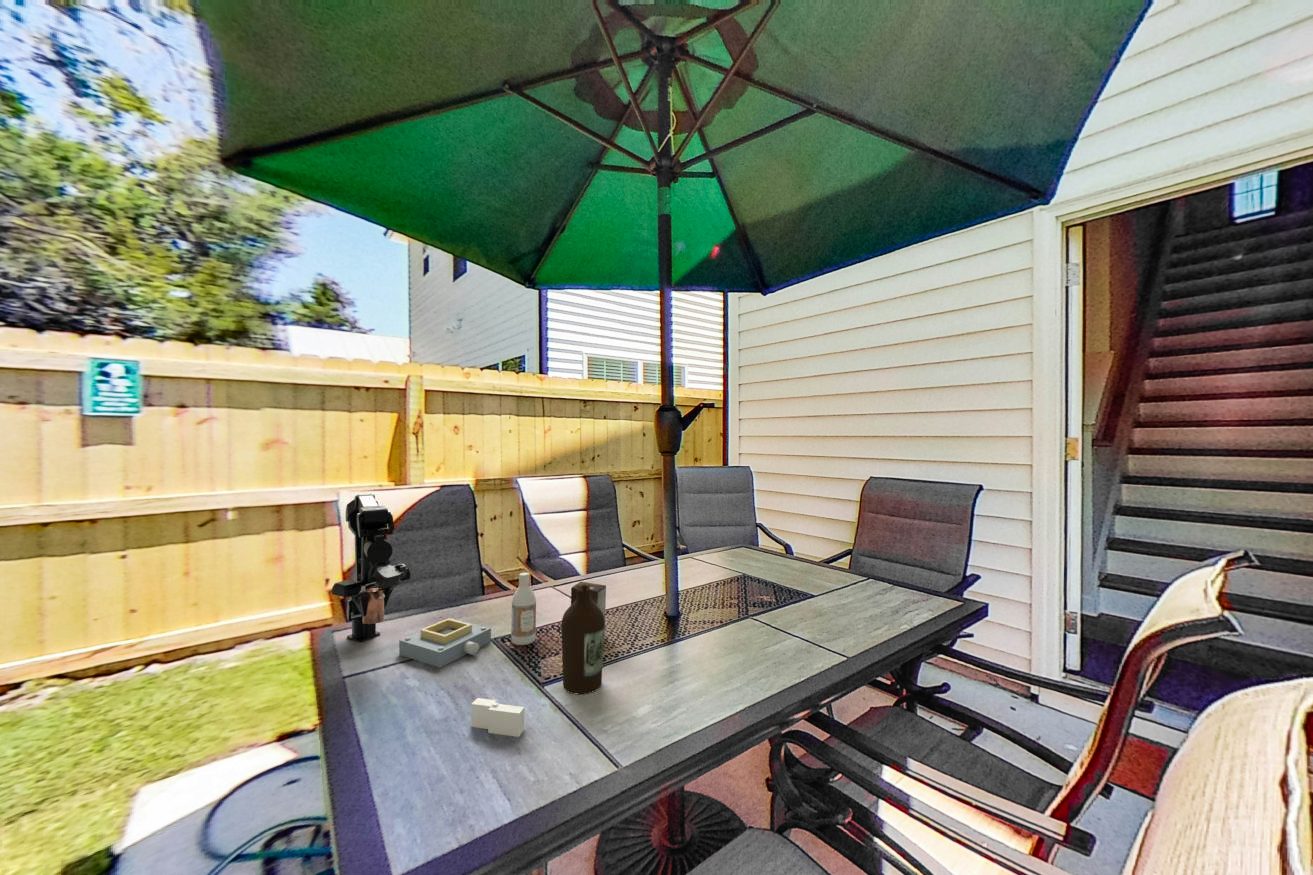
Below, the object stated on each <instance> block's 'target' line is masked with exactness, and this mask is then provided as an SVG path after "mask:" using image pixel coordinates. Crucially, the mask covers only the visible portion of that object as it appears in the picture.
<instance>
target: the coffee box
mask: <svg viewBox="0 0 1313 875" xmlns="http://www.w3.org/2000/svg"><path fill="white" fill-rule="evenodd" d="M581 582H582V581H580V582H578V583H581ZM578 583H576V584H575V585H573V586H571V589H570V606H571V605H572V604H573V603H574V602H575V600H576V599H577V584H578ZM589 583H590V589H591V590H590V599H591V600H592V601H593V602H594V603H595V604H596V605H597V606H598V607H599V608H600V610H601V611H602V613H603V616H604V620H605V621H606V610H607V609H606V605H607V604H606V601H607V600H606V599H607V585H605V584H599V583H592V582H589ZM605 636H606V629H605V630H604V637H605ZM605 638H606V637H605Z"/></svg>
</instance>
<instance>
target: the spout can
mask: <svg viewBox="0 0 1313 875" xmlns="http://www.w3.org/2000/svg"><path fill="white" fill-rule="evenodd" d="M365 591H366V592H369V594H368V595H367V597H366V616H363V623H364V624H375V623H376V624H378V623H381V622H383V621H384V620H385V610H384V597H385V594H384V589H383V588H378V587H377V588H371V589H367V590H365Z"/></svg>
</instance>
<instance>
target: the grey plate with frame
mask: <svg viewBox="0 0 1313 875" xmlns="http://www.w3.org/2000/svg"><path fill="white" fill-rule="evenodd" d="M491 642H492V627H487V626H483V625H480V624H475V623H472V622H467V621H464V620H459V619H457V618H449V617H448V618H447V619H444V620H441V621H439V622H436V623H434V624H431V625H429V626H427V627H424V628H421V629H420V631H419V632H417V633H414V634H411V635H409V636H407V637H404V638H400V639H399V642H398V644H399V646H398V648H399V649H398V650H399V652H398V654H399V656H403V657H406V658H409V659H411V660H415V661H418V662H421V663H424V664H428V665H430V666H434V667H437V668H442V667H445V666H446V665H449V664H450V663H452V662H454V661H456V660H458V659H460V658H461V657H464V656H466V655H468V654H469V655H472V656H475V655H476V654H478V652H479V649H480V648H481V647H484V646H485V645H487V644H489V643H491Z"/></svg>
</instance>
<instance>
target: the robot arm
mask: <svg viewBox="0 0 1313 875" xmlns="http://www.w3.org/2000/svg"><path fill="white" fill-rule="evenodd" d="M345 522H347V525H348V526H347V527H348V529H349V530H350V532H351V533H352V534H353V535H354V556H355V557H354V558H355V559H354V563H355V566H354V567H355V580H351V579H346V580H341V581H338V582H335V583H334V584H333V586H332V587H331V591H332V592H331V594H332V595H333V596H338V597H341V598H349V599H347V606H346V618H347V621H348V622H350V621H351V634H349V635H346V639H349V640H352V641H355V642H359V643H361V642H364V641H367V640H368V639H369V640H370V639H371V638H374V637H377V636H379V635H381V632H380V631H377V627H376V626H377V623H375V624H364V623H363V616H366V597H367V595H368V594H369V592H366V591H365V590H367V589H371V588H383V589H384V594H385V597H384V611H385V610H386V607H387V604H388V602H389V599H390V597H391V596H392V592H393V590H395V588H396V587H397V586H399V585H401V582H404V581H408V580H410V579H412V572H411V570H410V568H407V565H406V564H405V563H398V564H396V565H391V563H390V562H391V560H390V558H391V557H392V555H393V547H392V544H391V543H390V542H389V541H388V539H387V536H388V535H389V536H390V535H393V534H394V531H395V522H394V516H393V514H392V512H391V511H390V510H388V507H386V506H384V505H379V502H378V501H377V500H376V495H375V494H373V493H361V494H355V495H354V499H353V500H351V501H349V502H348V503H347V504H346V507H345ZM376 584H377V585H376Z"/></svg>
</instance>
